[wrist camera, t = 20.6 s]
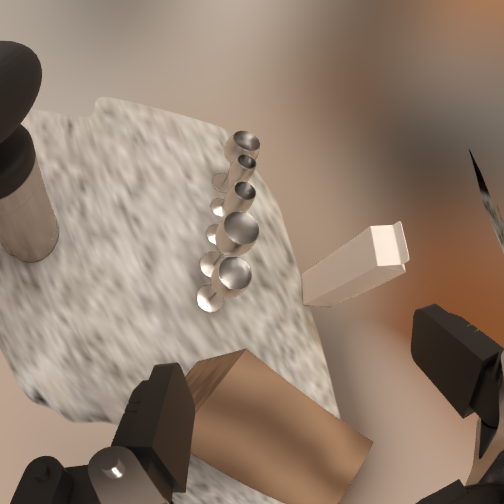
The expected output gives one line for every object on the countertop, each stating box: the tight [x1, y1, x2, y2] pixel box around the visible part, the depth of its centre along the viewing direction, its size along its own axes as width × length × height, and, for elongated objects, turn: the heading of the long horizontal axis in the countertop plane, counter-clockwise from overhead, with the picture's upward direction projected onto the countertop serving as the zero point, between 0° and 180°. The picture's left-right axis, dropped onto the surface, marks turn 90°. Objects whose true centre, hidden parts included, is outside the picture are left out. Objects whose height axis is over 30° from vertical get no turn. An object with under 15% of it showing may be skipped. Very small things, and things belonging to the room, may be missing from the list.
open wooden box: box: [185, 349, 373, 504], centre depth 29 cm, size 10×18×20 cm, turn 53°
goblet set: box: [196, 131, 260, 312], centre depth 45 cm, size 28×6×13 cm, turn 177°
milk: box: [302, 221, 409, 307], centre depth 44 cm, size 6×6×22 cm
